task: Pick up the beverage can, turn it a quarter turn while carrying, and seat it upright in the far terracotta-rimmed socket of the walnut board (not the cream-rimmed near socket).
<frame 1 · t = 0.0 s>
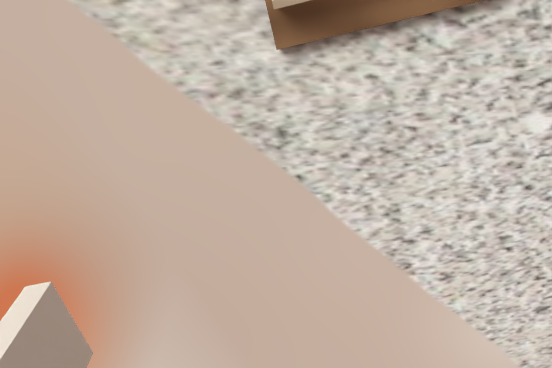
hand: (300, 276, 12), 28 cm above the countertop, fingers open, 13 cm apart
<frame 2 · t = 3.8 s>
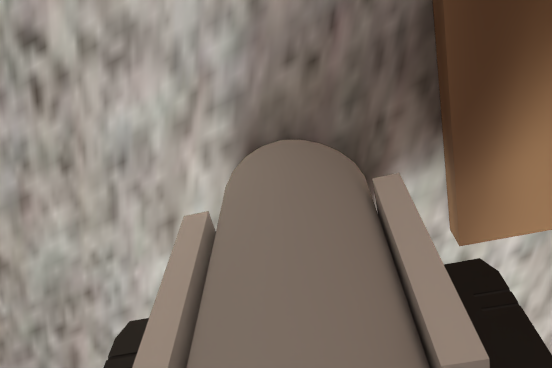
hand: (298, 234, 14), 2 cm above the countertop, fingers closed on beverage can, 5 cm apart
beverage can: (296, 193, 16), on the countertop, touching gripper
when the fingers open (4 cm above the countertop, at t = 9.4 s): beverage can stays where it is, resting on socket board.
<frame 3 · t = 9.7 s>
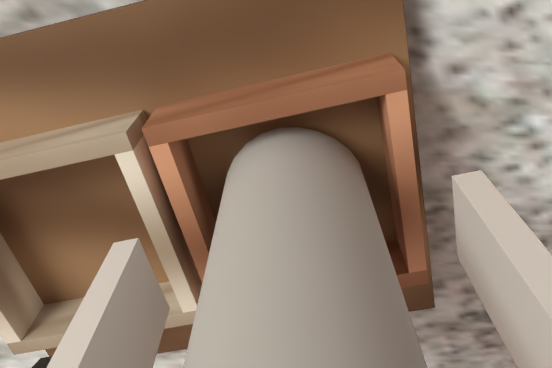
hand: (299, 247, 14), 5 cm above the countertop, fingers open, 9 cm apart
beverage can: (294, 180, 17), point 1 cm above the countertop, touching socket board
socket board: (191, 192, 18), on the countertop
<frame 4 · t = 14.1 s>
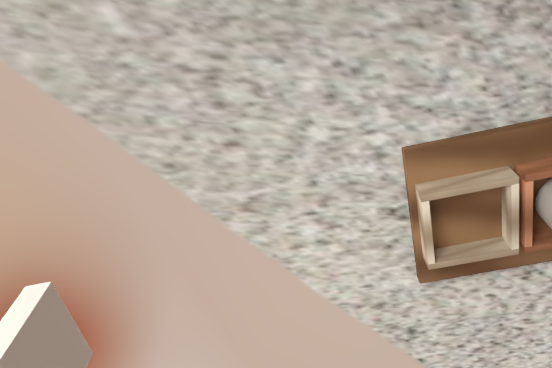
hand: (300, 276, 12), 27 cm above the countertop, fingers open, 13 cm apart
socket board: (506, 198, 42), on the countertop
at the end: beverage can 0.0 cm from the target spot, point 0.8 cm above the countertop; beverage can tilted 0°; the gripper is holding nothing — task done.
